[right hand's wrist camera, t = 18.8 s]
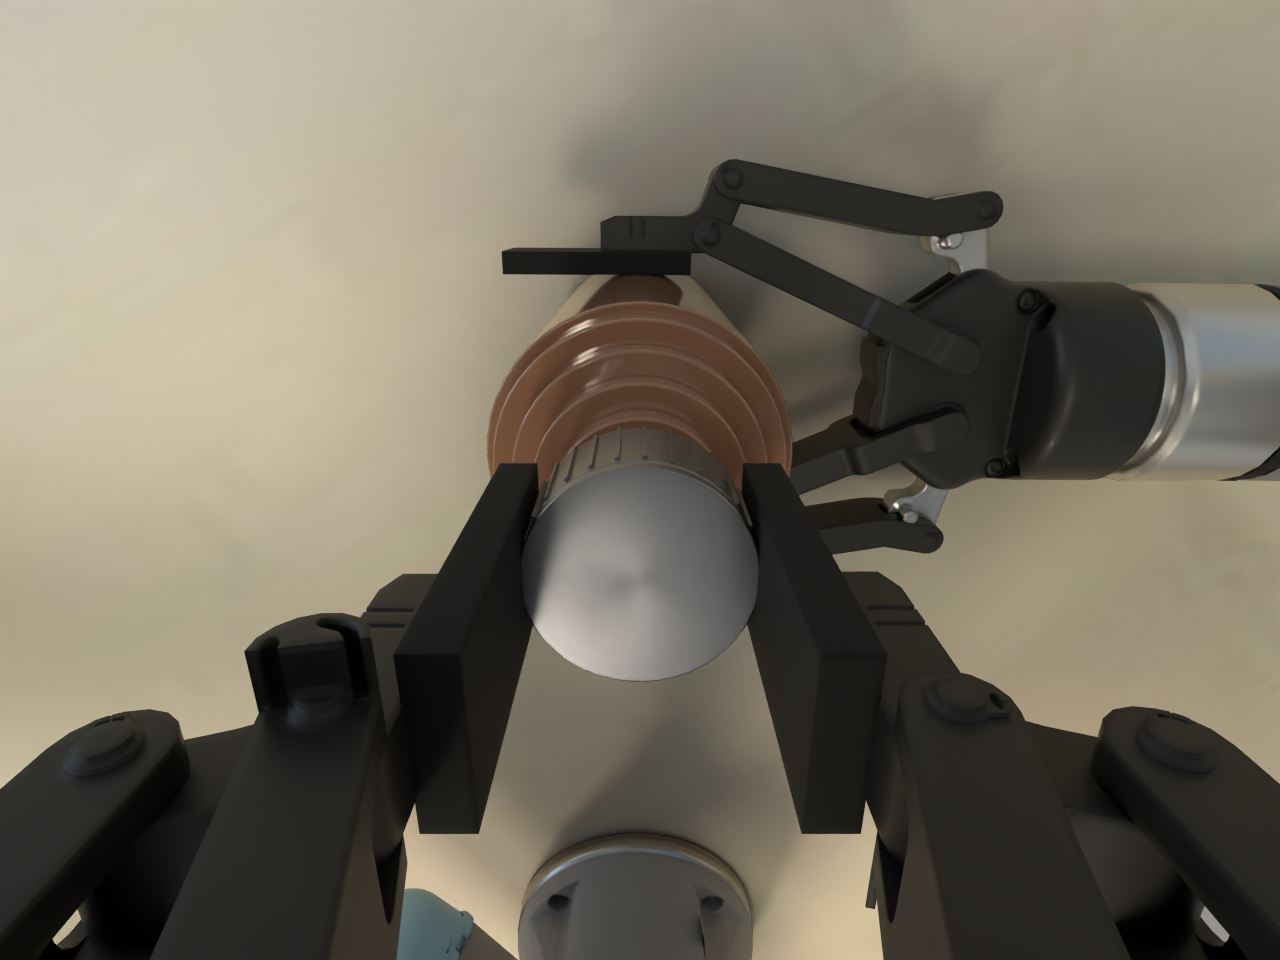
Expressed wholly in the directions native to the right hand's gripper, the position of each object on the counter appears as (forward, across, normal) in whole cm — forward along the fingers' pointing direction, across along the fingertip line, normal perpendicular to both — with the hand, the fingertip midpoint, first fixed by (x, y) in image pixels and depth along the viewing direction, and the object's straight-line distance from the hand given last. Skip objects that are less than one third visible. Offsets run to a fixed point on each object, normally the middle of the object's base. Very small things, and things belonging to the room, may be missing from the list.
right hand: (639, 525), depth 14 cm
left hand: (+13, -5, 0) cm, 14 cm away
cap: (-2, 0, 0) cm, 2 cm away
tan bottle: (+20, 0, 0) cm, 20 cm away
